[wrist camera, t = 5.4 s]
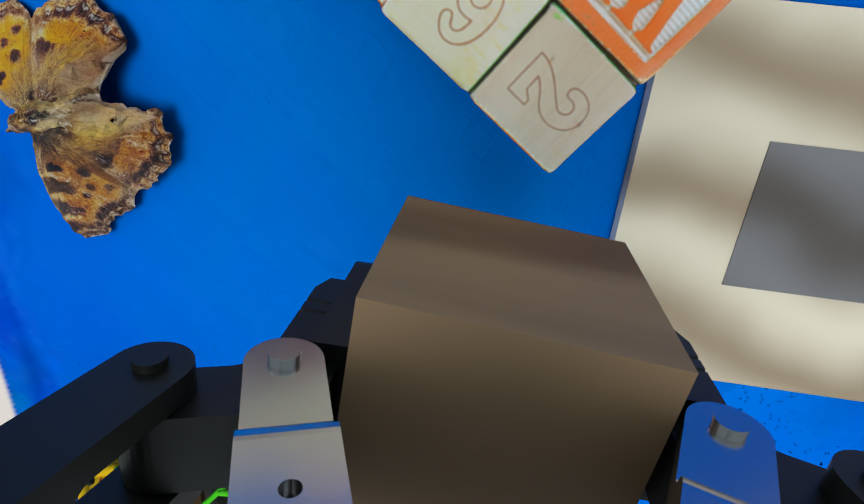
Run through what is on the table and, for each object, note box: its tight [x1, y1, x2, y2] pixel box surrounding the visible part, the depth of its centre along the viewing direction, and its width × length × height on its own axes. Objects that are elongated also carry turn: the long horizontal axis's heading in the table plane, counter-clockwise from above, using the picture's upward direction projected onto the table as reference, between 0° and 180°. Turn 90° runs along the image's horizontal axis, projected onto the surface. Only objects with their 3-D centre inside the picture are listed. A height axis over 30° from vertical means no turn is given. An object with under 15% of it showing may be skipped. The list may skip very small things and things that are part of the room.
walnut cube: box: [338, 196, 699, 504], centre depth 11 cm, size 5×5×5 cm
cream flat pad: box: [609, 0, 864, 402], centre depth 26 cm, size 18×18×1 cm
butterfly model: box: [0, 0, 174, 238], centre depth 26 cm, size 9×12×3 cm
